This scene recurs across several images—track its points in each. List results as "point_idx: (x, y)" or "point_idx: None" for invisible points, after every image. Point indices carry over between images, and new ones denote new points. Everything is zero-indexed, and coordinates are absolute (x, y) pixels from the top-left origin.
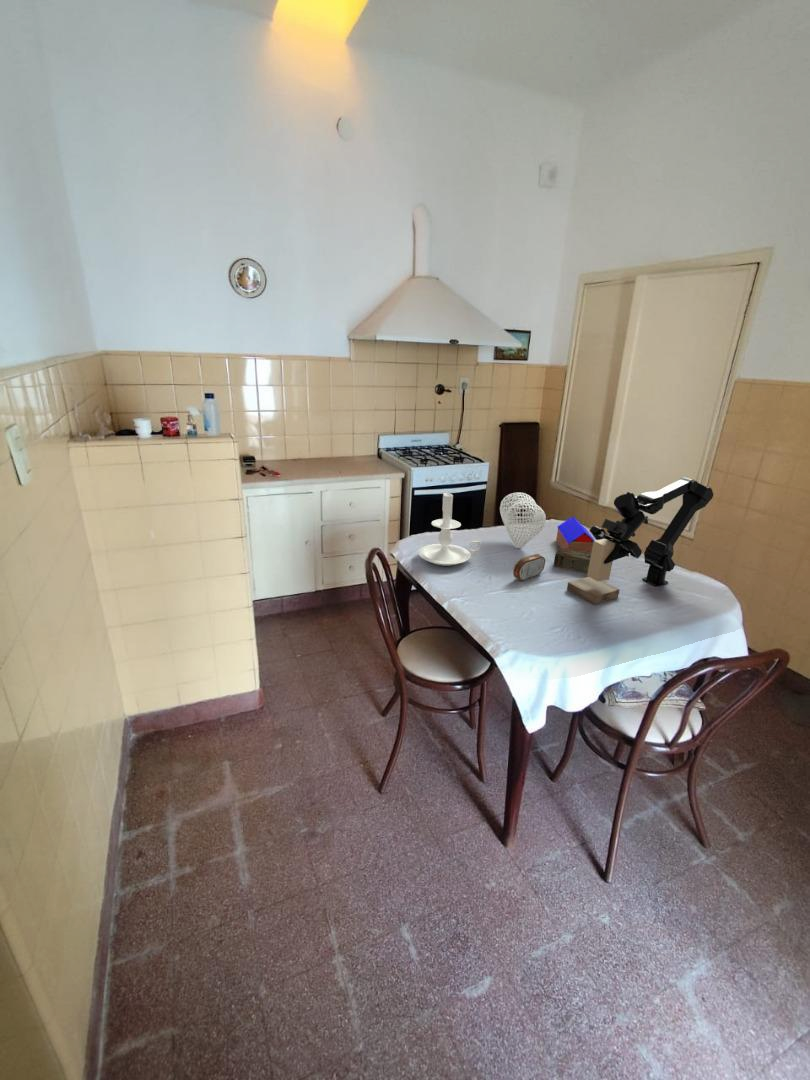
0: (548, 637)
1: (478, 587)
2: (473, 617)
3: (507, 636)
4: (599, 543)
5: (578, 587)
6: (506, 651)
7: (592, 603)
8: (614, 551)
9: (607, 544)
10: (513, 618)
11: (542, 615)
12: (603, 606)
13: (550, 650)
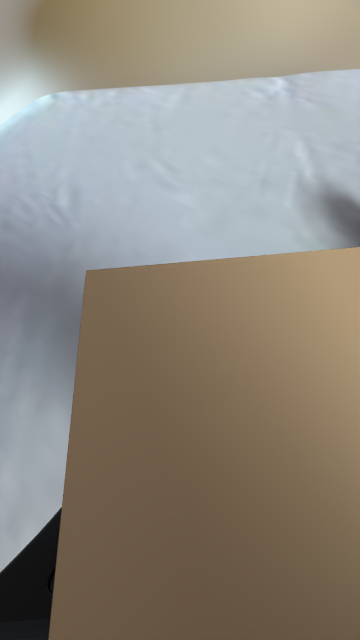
0: (47, 168)
1: (340, 134)
2: (189, 88)
3: (94, 111)
4: (280, 258)
5: None
6: (51, 95)
7: None
8: (28, 578)
9: (160, 430)
10: (155, 143)
11: (142, 201)
12: None
13: (5, 151)
